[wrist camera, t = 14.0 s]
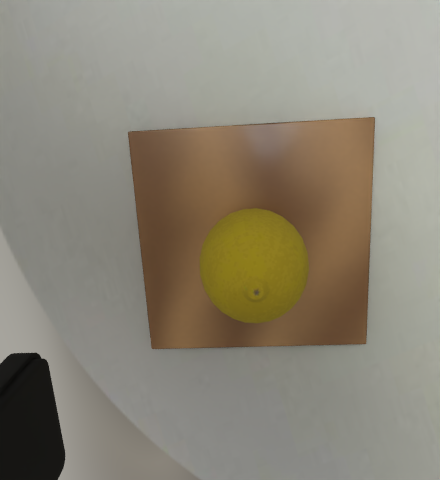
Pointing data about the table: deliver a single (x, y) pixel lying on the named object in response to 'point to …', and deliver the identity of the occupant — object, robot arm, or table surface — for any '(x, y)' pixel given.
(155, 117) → the table surface
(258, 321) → the lemon
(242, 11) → the table surface
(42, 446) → the robot arm
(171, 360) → the table surface
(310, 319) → the cork mat
